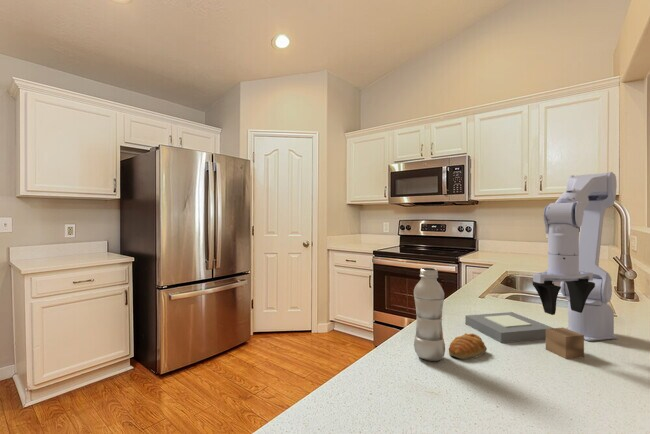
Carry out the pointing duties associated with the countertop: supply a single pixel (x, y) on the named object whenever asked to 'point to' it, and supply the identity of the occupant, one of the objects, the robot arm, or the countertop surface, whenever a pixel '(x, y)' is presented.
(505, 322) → the slate board
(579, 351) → the walnut cube
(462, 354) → the pastry
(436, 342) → the plastic bottle
